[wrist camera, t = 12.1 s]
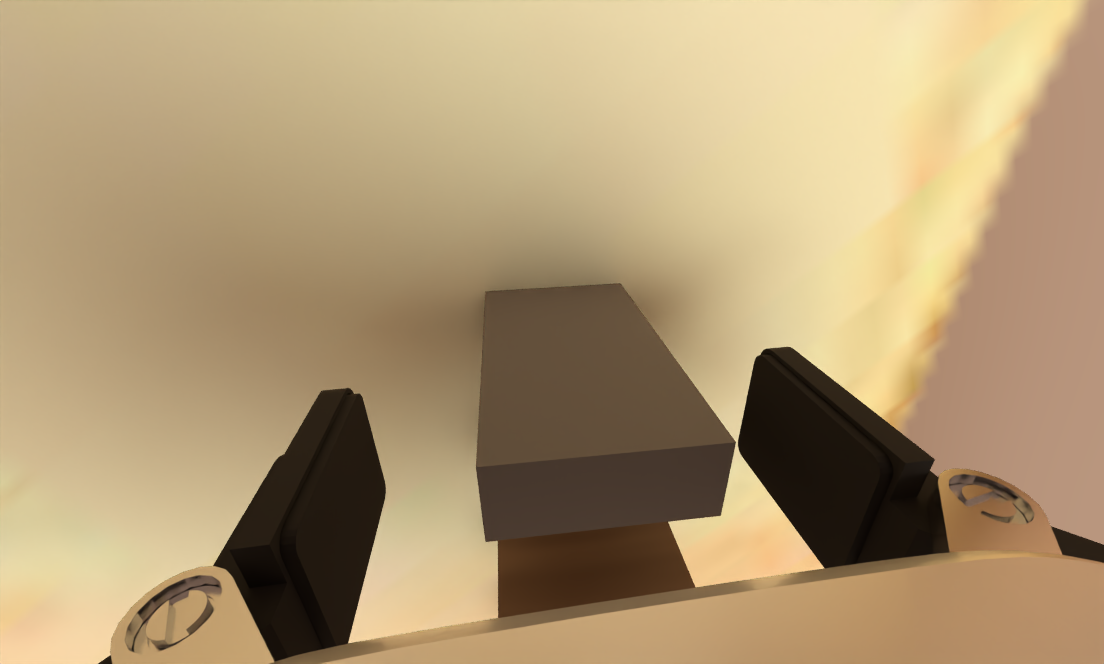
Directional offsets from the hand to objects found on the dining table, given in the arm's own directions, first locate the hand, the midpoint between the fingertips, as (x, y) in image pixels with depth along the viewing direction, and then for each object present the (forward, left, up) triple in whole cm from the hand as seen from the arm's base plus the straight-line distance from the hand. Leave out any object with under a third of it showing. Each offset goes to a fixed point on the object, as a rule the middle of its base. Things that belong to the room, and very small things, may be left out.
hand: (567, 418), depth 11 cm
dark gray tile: (0, +1, -7) cm, 7 cm away
